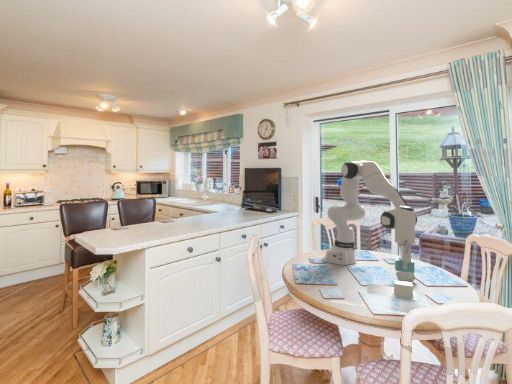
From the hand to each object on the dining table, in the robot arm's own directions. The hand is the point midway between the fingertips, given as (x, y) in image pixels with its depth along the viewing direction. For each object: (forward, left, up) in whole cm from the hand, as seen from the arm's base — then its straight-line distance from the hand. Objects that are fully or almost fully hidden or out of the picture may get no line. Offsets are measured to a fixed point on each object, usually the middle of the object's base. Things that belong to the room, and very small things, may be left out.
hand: (404, 266), depth 134 cm
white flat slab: (-6, 0, -15) cm, 16 cm away
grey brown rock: (+2, +17, -15) cm, 23 cm away
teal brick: (0, 0, -2) cm, 2 cm away
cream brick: (0, 0, -14) cm, 14 cm away
